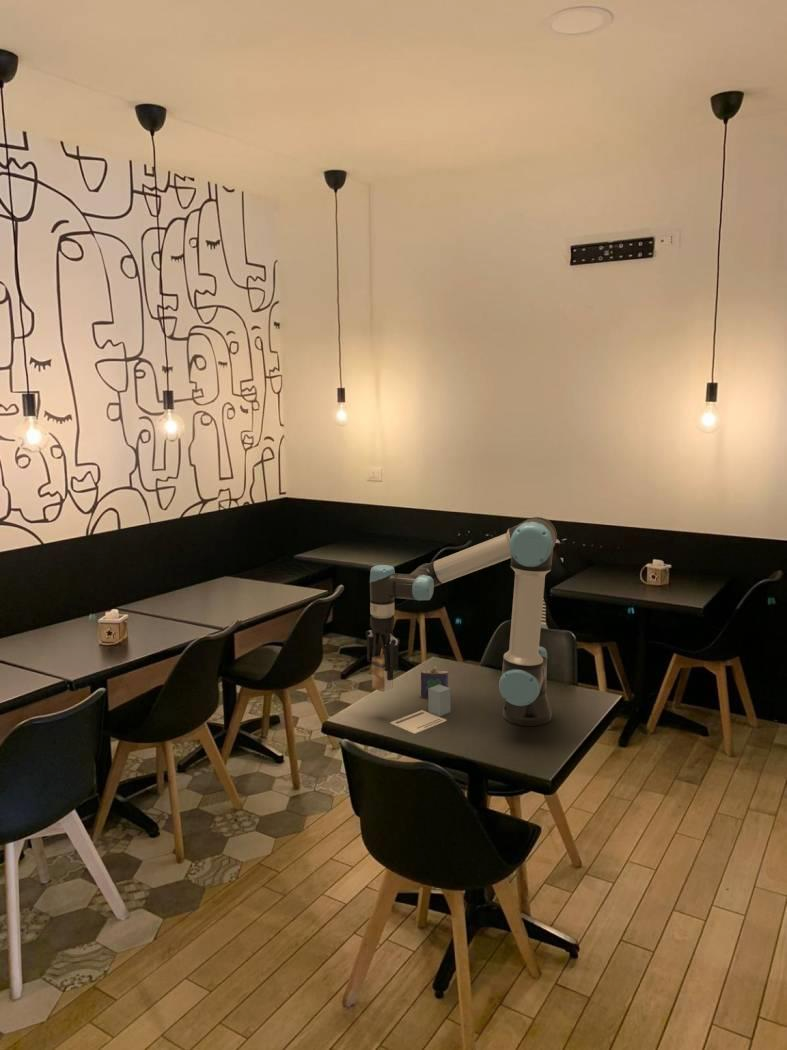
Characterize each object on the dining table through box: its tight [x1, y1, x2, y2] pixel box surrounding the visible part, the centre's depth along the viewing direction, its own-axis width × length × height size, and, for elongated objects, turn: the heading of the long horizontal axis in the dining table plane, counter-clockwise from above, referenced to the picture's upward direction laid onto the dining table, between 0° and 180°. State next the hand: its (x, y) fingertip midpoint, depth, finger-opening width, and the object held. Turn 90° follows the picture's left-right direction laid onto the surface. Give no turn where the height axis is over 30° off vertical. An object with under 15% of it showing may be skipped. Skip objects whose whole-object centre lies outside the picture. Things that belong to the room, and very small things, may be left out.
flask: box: [420, 666, 449, 699], centre depth 266 cm, size 9×3×11 cm, turn 88°
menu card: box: [389, 709, 448, 735], centre depth 246 cm, size 11×14×1 cm
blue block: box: [427, 685, 452, 717], centre depth 253 cm, size 5×5×8 cm
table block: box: [371, 653, 394, 692], centre depth 248 cm, size 4×4×10 cm
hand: (382, 686), depth 248 cm, fingers closed on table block, 4 cm apart
